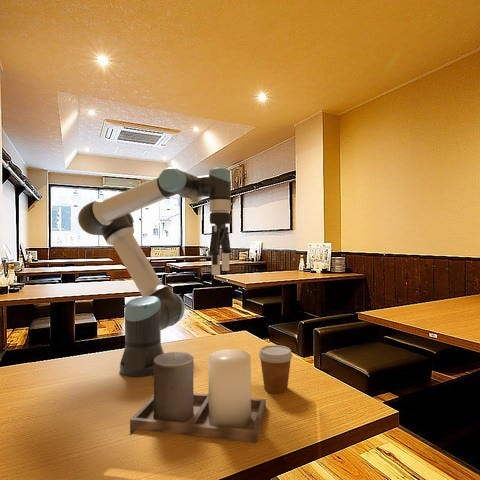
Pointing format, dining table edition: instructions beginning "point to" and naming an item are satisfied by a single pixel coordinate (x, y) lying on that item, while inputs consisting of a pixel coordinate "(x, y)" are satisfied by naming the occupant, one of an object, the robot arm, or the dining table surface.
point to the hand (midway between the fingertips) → (221, 272)
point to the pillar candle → (173, 387)
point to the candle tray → (200, 421)
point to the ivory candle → (229, 388)
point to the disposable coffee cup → (275, 368)
